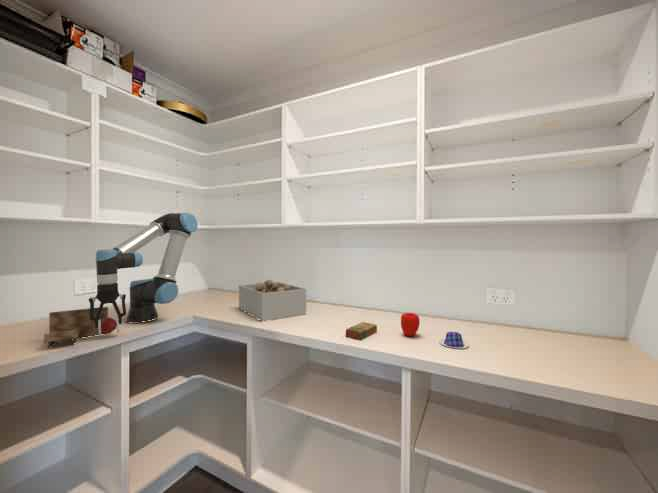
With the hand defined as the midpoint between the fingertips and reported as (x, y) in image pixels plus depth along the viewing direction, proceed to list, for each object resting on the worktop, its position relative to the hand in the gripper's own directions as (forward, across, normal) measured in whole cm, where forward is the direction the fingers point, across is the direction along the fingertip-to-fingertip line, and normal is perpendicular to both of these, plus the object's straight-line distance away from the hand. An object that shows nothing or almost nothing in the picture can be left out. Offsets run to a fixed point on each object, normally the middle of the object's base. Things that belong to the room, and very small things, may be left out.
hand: (109, 332), depth 131 cm
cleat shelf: (+2, +16, 0) cm, 16 cm away
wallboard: (+2, +11, -6) cm, 13 cm away
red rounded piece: (+4, -116, +80) cm, 141 cm away
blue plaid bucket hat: (+4, -122, +98) cm, 157 cm away
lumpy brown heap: (+4, -82, -2) cm, 82 cm away
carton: (+4, -98, +65) cm, 118 cm away
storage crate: (+4, -82, -2) cm, 82 cm away
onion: (+1, 0, 0) cm, 1 cm away
